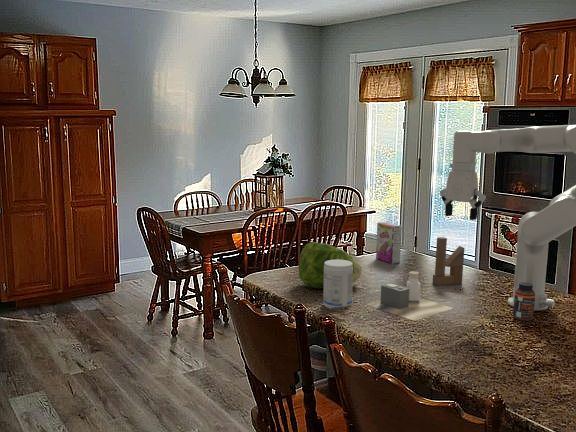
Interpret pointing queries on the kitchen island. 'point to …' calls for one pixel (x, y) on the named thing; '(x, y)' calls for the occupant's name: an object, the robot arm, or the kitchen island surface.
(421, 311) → the plywood panel
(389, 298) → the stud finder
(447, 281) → the wooden letter
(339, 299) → the supplement tub
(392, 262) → the candy bar box
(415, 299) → the pepper shaker
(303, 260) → the lettuce
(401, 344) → the kitchen island surface
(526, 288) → the supplement bottle
